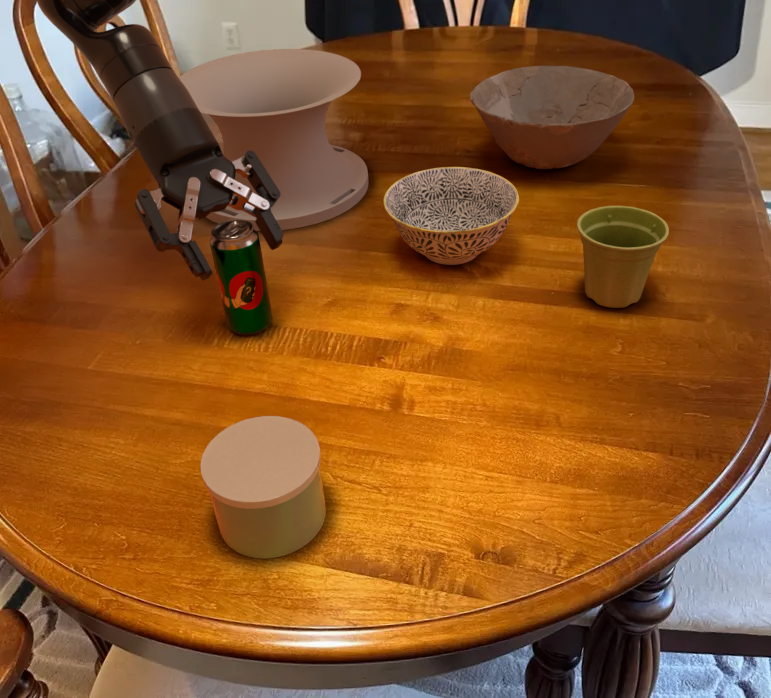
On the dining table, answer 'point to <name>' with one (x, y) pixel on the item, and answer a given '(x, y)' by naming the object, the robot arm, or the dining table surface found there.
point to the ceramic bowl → (551, 112)
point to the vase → (283, 128)
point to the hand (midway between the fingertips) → (243, 261)
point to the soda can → (241, 276)
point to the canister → (265, 485)
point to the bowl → (451, 211)
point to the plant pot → (619, 252)
